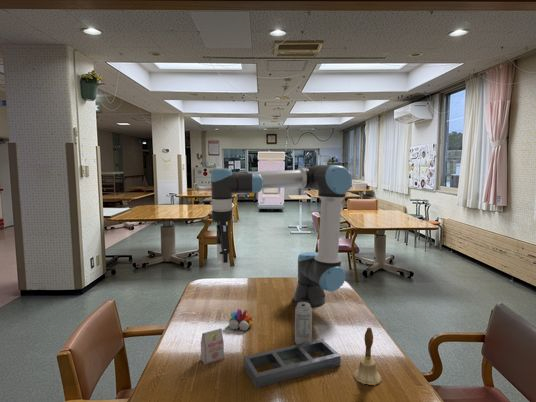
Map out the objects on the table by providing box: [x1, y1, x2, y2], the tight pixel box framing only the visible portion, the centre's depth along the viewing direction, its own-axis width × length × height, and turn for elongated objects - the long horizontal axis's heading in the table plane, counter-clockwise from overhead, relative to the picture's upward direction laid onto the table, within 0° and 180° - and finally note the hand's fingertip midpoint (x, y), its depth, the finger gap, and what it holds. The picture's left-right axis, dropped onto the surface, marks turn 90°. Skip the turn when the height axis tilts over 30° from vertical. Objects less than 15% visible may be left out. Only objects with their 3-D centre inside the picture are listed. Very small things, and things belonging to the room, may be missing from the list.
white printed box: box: [200, 328, 225, 366], centre depth 115 cm, size 4×7×10 cm, turn 121°
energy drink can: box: [294, 302, 313, 345], centre depth 125 cm, size 6×6×15 cm
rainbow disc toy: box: [228, 308, 253, 332], centre depth 138 cm, size 8×10×7 cm
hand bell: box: [353, 326, 382, 385], centre depth 106 cm, size 8×8×16 cm
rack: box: [242, 338, 342, 389], centre depth 112 cm, size 30×12×4 cm, turn 113°
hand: (222, 265), depth 131 cm, fingers open, 13 cm apart
